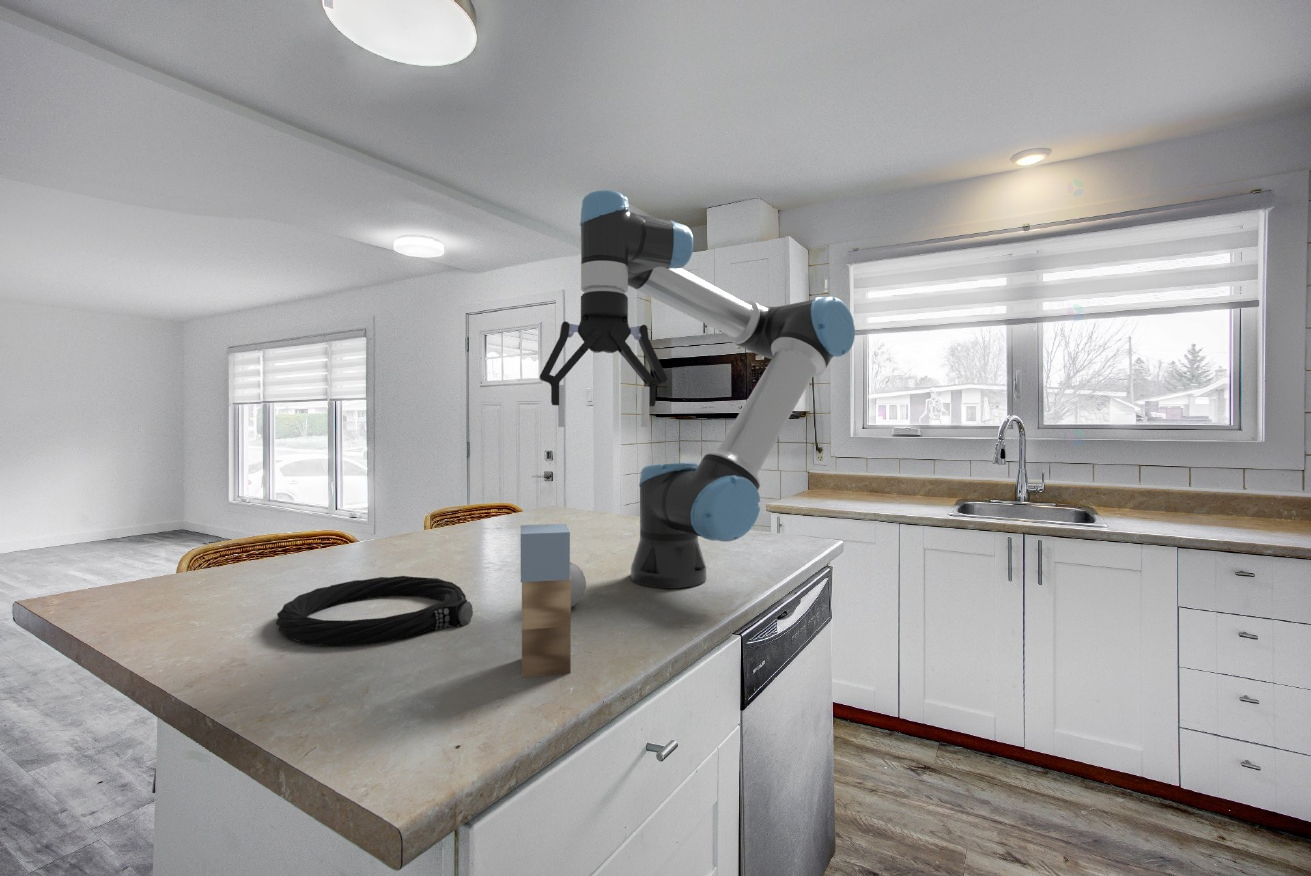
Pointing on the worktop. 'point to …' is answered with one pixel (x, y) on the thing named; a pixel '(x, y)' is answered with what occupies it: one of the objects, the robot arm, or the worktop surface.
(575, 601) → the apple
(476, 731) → the worktop surface
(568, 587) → the tower upper block
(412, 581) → the ring
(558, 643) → the tower lower block
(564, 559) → the slate block
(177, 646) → the worktop surface
